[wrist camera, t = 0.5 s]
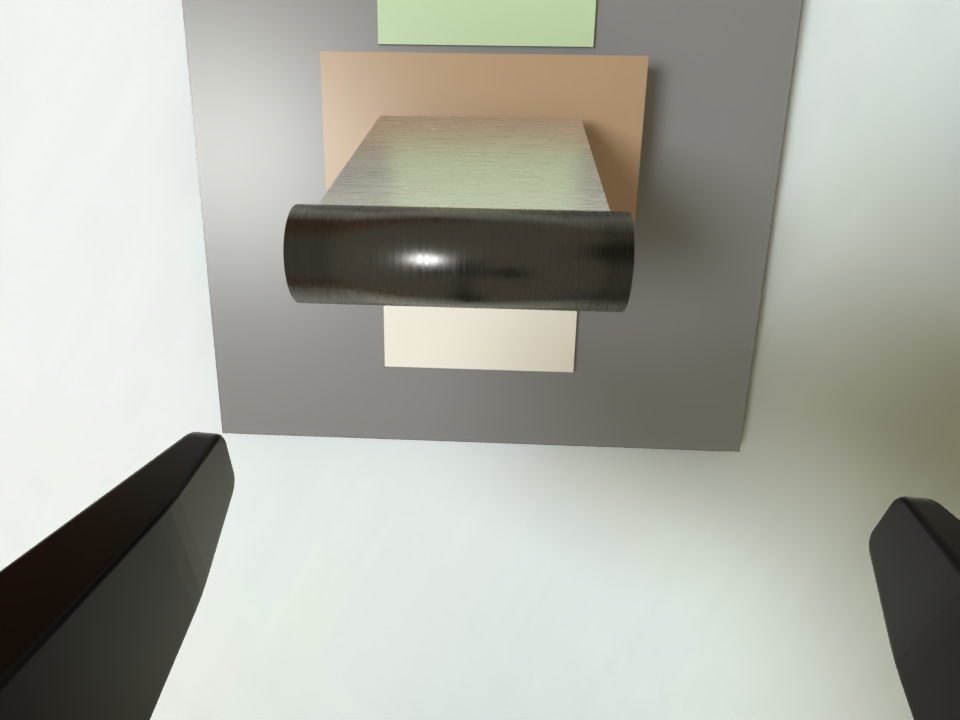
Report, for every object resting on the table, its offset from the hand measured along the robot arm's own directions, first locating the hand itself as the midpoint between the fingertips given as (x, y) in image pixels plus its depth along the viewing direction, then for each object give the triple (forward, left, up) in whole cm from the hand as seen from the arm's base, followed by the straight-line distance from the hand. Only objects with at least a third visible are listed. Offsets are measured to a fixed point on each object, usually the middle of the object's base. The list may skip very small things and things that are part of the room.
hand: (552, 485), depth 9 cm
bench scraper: (+2, +5, -13) cm, 14 cm away
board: (+1, +3, -16) cm, 17 cm away
